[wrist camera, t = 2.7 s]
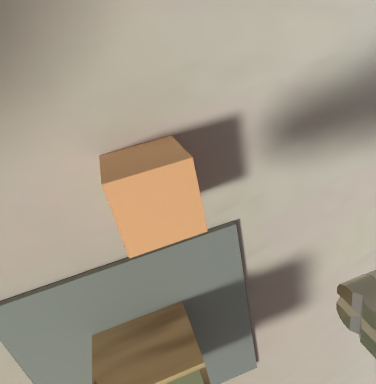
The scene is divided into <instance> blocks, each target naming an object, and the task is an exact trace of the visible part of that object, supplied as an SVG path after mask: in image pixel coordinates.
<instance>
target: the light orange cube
mask: <svg viewBox="0 0 376 384" xmlns="http://www.w3.org/2000/svg"><path fill="white" fill-rule="evenodd" d="M99 159H100V171H101V184H102V187H103V190H104V192H105V195H106V198H107V200H108V203H109V206H110V208H111V211H112V214H113V216H114V219H115V222H116V224H117V227H118V230H119V232H120V235H121V238H122V240H123V243H124V246H125V248H126V251H127V254H128V256H129V258H132V257H135V256H138V255H141V254H144V253H147V252H150V251H152V250H155V249H158V248H161V247H164V246H167V245H170V244H173V243H176V242H178V241H181V240H184V239H187V238H190V237H193V236H196V235H199V234H202V233H205V232H207V231H208V230H207V225H206V220H205V215H204V210H203V205H202V200H201V195H200V190H199V186H198V181H197V176H196V171H195V166H194V161H193V157H192V156H191V155H190V154H189V153H188V152H187V151H186V150H185V149H184V148H183V147H182V146H181V145H180V144H179V143H178V141H177V140H176V139H175V138H174V137H173V136H172V135H171V136H167V137H164V138H160V139H157V140H153V141H149V142H146V143H142V144H139V145H135V146H132V147H128V148H125V149H121V150H118V151H114V152H111V153H107V154H103V155H100V156H99Z"/></svg>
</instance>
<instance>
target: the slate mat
mask: <svg viewBox="0 0 376 384" xmlns="http://www.w3.org/2000/svg"><path fill="white" fill-rule="evenodd" d="M181 301H182V302H183V305H184V308H185V310H186V313H187V316H188V319H189V321H190V324H191V327H192V330H193V332H194V335H195V338H196V341H197V343H198V346H199V349H200V352H201V354H202V357H203V360H204V363H205V366H206V370H207V373H208V377H209V380H210V384H220V383H223V382H225V381H227V380H230V379H232V378H234V377H236V376H239V375H241V374H243V373H245V372H248V371H250V370H252V369H255V368H257V364H256V357H255V350H254V344H253V337H252V330H251V323H250V316H249V309H248V302H247V295H246V288H245V281H244V274H243V267H242V261H241V254H240V247H239V240H238V233H237V226H236V223H235V222H234V221H232V222H229V223H227V224H224V225H221V226H218V227H215V228H212V229H209V230H208V231H207V232H205V233H202V234H199V235H196V236H193V237H190V238H187V239H184V240H181V241H178V242H176V243H173V244H170V245H167V246H164V247H161V248H158V249H155V250H152V251H150V252H147V253H144V254H141V255H138V256H135V257H132V258H129V257H128V258H125V259H122V260H119V261H116V262H113V263H111V264H108V265H105V266H102V267H99V268H96V269H93V270H90V271H87V272H84V273H82V274H79V275H76V276H73V277H70V278H67V279H64V280H61V281H58V282H55V283H53V284H50V285H47V286H44V287H41V288H38V289H35V290H32V291H29V292H26V293H24V294H21V295H18V296H15V297H12V298H9V299H6V300H3V301H0V341H1V342H2V344H3V345H4V346H5V348H6V349H7V350H8V352H9V353H10V354H11V355H12V357H13V358H14V359H15V361H16V362H17V363H18V364H19V366H20V367H21V368H22V370H23V371H24V372H25V374H26V375H27V376H28V377H29V379H30V380H31V381H32V383H33V384H87V383H90V382H92V335H94V334H97V333H99V332H102V331H104V330H107V329H110V328H112V327H115V326H118V325H120V324H123V323H125V322H128V321H131V320H133V319H136V318H139V317H141V316H144V315H146V314H149V313H152V312H154V311H157V310H160V309H162V308H165V307H167V306H170V305H173V304H175V303H178V302H181Z"/></svg>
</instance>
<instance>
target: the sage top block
mask: <svg viewBox="0 0 376 384" xmlns="http://www.w3.org/2000/svg"><path fill="white" fill-rule="evenodd" d="M166 384H204V382H203V379H202V376H201V373H200V371H199V370H196V371H194V372H192V373H189V374H187V375H185V376H182V377H180V378H178V379H175V380H173V381H171V382H168V383H166Z"/></svg>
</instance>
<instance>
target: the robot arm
mask: <svg viewBox="0 0 376 384" xmlns="http://www.w3.org/2000/svg"><path fill="white" fill-rule="evenodd" d="M337 293H338V294H339V295H340V298H339V299H338V301H337V312H338V314H339V317H340V319H341V320H342V322H343V323H344V324H345V325H346V327H347V328H348V329H349V330H350V331H353V332H355V333H357V334H359V337H360V342H361V343H362V344H363V345H364V346H365V347H366V348H367V350H368V351H369V352H370V353H371V354H372V355H373V356H374V357H375V358H376V270H374V271H372V272H369V273H367V274H363V275H361V276H358V277H356V278H353V279H351V280H349V281H346V282H344V283H341V284H339V286H338V287H337ZM87 384H97V383H96V381H93V382H90V383H87Z"/></svg>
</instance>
